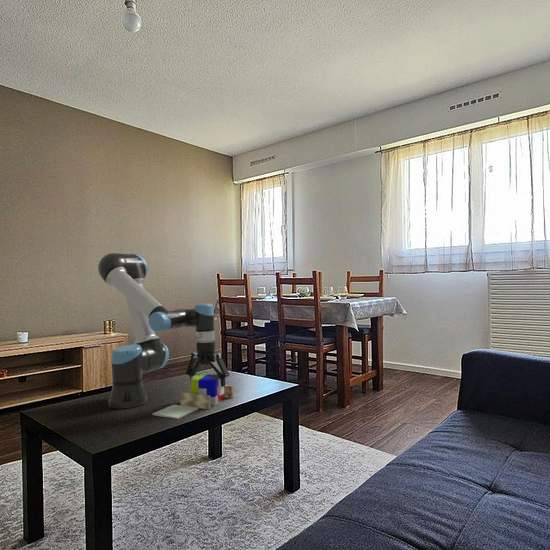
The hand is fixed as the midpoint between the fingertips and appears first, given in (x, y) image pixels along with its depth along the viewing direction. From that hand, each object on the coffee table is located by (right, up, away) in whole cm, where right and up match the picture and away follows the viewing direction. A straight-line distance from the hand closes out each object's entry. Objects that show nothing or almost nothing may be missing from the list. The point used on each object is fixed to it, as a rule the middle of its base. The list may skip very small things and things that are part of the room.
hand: (207, 393), depth 170 cm
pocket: (0, -3, 0) cm, 3 cm away
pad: (-10, -4, -13) cm, 17 cm away
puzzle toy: (0, -4, 0) cm, 4 cm away
